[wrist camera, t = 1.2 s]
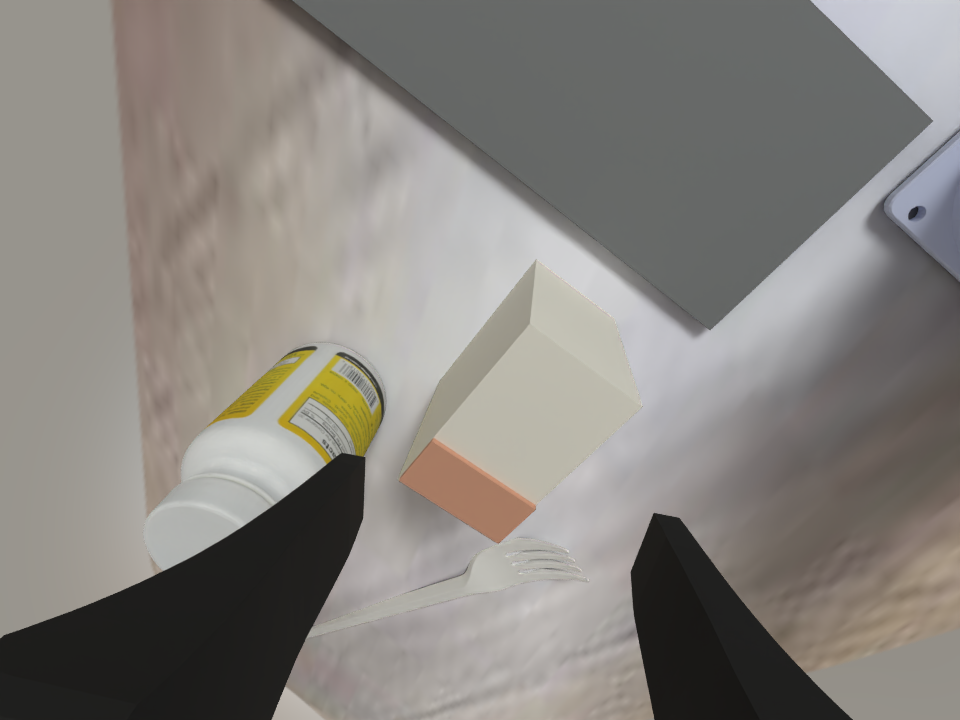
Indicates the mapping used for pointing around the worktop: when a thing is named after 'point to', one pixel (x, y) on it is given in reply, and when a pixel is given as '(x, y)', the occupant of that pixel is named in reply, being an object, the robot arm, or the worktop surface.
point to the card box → (522, 406)
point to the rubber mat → (654, 119)
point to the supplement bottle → (267, 447)
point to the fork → (470, 581)
